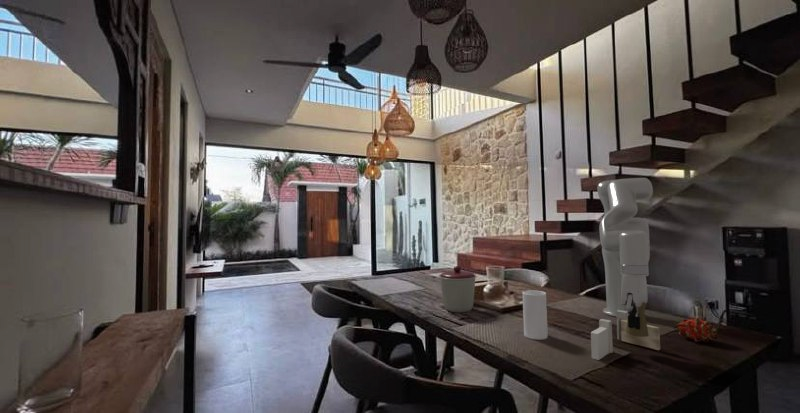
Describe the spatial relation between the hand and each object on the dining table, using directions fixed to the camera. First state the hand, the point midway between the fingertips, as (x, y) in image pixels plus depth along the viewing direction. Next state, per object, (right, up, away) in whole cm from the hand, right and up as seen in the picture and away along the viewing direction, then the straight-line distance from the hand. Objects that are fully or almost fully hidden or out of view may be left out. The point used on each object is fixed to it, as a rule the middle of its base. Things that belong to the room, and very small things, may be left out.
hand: (636, 326), depth 110 cm
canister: (-48, -11, +54) cm, 74 cm away
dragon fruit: (+27, -8, +8) cm, 29 cm away
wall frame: (-4, -9, +5) cm, 11 cm away
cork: (0, -2, 0) cm, 2 cm away
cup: (-26, -10, +17) cm, 33 cm away
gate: (+4, -8, +5) cm, 10 cm away
